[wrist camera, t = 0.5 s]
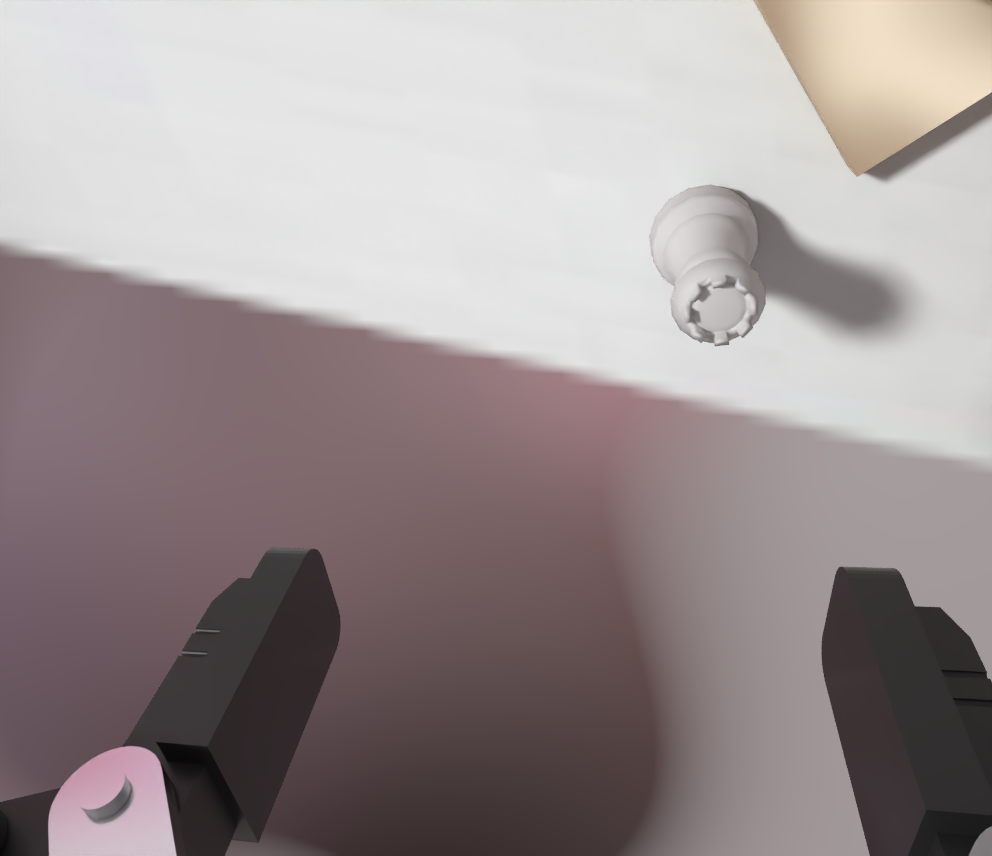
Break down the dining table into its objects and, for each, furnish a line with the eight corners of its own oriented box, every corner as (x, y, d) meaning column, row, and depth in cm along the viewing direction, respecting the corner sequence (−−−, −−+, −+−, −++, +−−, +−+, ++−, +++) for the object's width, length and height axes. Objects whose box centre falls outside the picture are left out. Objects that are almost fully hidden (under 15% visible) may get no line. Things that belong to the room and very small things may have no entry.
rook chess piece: (764, 182, 30) (802, 253, 24) (745, 284, 33) (774, 373, 26) (654, 180, 31) (661, 248, 25) (644, 279, 34) (648, 366, 27)
